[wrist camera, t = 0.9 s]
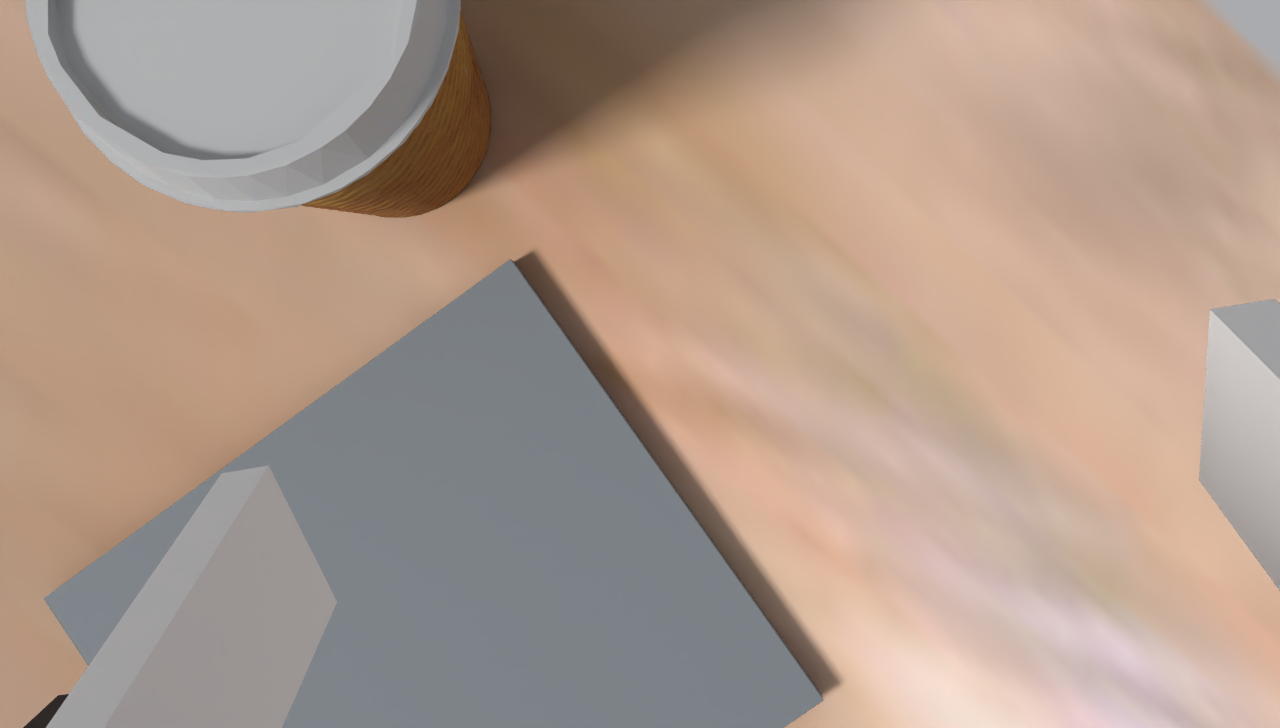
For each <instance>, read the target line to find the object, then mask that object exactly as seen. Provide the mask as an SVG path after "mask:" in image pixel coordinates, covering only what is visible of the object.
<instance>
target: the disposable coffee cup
mask: <svg viewBox="0 0 1280 728" xmlns="http://www.w3.org/2000/svg"><path fill="white" fill-rule="evenodd" d="M460 5H461V0H26V10H27V20H28V24H29V27H30V31H31V34H32V38H33V42H34V45H35V49H36V52H37V54H38V56H39V58H40V61H41V63H42V65H43V67H44V69H45V72H46V74H47V76H48V78H49V80H50V81H51V83H52V84H53V86H54V87H55V89H56V90H57V91H58V93H59V94H60V96H61V97H62V99H63V100H64V102H65V103H66V105H67V107H68V108H69V110H70V112H71V113H72V115H73V116H74V118H75V120H76V121H77V123H78V125H79V126H80V128H81V129H82V131H83V133H84V134H85V135H86V136H87V137H88V138H89V139H90V140H91V141H92V142H93V143H94V144H95V145H96V146H97V148H98V149H99V150H100V151H101V152H102V153H103V154H104V155H105V156H106V157H107V158H108V159H109V160H110V161H111V162H112V163H113V164H115V165H116V166H118V167H119V168H120V169H122V170H123V171H124V172H126V173H127V174H129V175H130V176H131V177H133V178H134V179H136V180H137V181H138V182H140V183H141V184H142V185H144V186H146V187H148V188H150V189H153V190H155V191H157V192H160V193H162V194H165V195H167V196H169V197H172V198H174V199H177V200H179V201H182V202H184V203H186V204H190V205H195V206H199V207H204V208H210V209H216V210H223V211H231V212H243V213H249V212H258V211H266V210H275V209H283V208H291V207H298V206H300V205H302V206H306V207H314V208H322V209H330V210H338V211H346V212H354V213H361V214H368V215H376V216H380V217H410V216H415V215H421V214H423V213H426V212H429V211H431V210H434V209H436V208H439V207H440V206H442V205H443V204H445V203H446V202H448V201H450V200H451V199H453V198H454V197H455V196H456V195H457V194H458V193H459V192H461V191H462V190H463V189H464V188H465V187H466V186H467V185H468V184H469V182H470V181H471V179H472V178H473V176H474V175H475V173H476V172H477V170H478V169H479V167H480V165H481V163H482V161H483V159H484V156H485V154H486V152H487V147H488V142H489V137H490V132H491V108H490V102H489V96H488V94H487V91H486V88H485V85H484V82H483V80H482V76H481V72H480V70H479V66H478V63H477V60H476V57H475V53H474V49H473V47H472V44H471V41H470V38H469V35H468V32H467V28H466V24H465V22H464V19H463V15H462V12H461V9H460Z"/></svg>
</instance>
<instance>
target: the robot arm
mask: <svg viewBox="0 0 1280 728" xmlns="http://www.w3.org/2000/svg"><path fill="white" fill-rule="evenodd" d="M1199 481H1200V482H1201V484H1202V485H1203V486H1204V488H1205V489H1206V491H1207V492H1208V493H1209V495H1210V496H1211V497H1212V499H1213V500H1214V501H1215V503H1216V504H1217V506H1218V507H1219V508H1220V510H1221V511H1222V512H1223V514H1224V515H1225V516H1226V518H1227V519H1228V521H1229V522H1230V523H1231V525H1232V526H1233V527H1234V529H1235V530H1236V532H1237V533H1238V534H1239V536H1240V537H1241V538H1242V540H1243V541H1244V542H1245V544H1246V545H1247V547H1248V548H1249V549H1250V551H1251V552H1252V553H1253V555H1254V556H1255V558H1256V559H1257V560H1258V562H1259V563H1260V564H1261V566H1262V567H1263V568H1264V570H1265V571H1266V573H1267V574H1268V575H1269V577H1270V578H1271V579H1272V581H1273V582H1274V584H1275V585H1276V586H1277V588H1278V589H1279V590H1280V303H1278V302H1277V301H1276V300H1275V299H1270V300H1264V301H1258V302H1252V303H1246V304H1240V305H1234V306H1228V307H1222V308H1216V309H1210V319H1209V334H1208V350H1207V365H1206V380H1205V395H1204V410H1203V425H1202V441H1201V456H1200V471H1199ZM336 604H337V600H336V598H335V596H334V594H333V593H332V591H331V589H330V587H329V585H328V583H327V581H326V579H325V577H324V575H323V573H322V571H321V569H320V567H319V565H318V563H317V561H316V559H315V557H314V555H313V553H312V551H311V549H310V547H309V545H308V543H307V541H306V539H305V537H304V535H303V533H302V531H301V529H300V527H299V525H298V523H297V521H296V519H295V517H294V515H293V513H292V511H291V509H290V507H289V505H288V503H287V501H286V499H285V497H284V495H283V493H282V491H281V489H280V487H279V485H278V483H277V481H276V479H275V477H274V475H273V473H272V471H271V469H270V467H269V466H263V467H257V468H251V469H245V470H239V471H233V472H227V473H221V475H220V476H219V478H218V479H217V481H216V482H215V484H214V485H213V486H212V488H211V489H210V491H209V492H208V494H207V495H206V497H205V498H204V499H203V501H202V502H201V504H200V505H199V507H198V508H197V510H196V511H195V512H194V514H193V515H192V517H191V518H190V520H189V521H188V523H187V524H186V525H185V527H184V528H183V530H182V531H181V533H180V534H179V536H178V537H177V538H176V540H175V541H174V543H173V544H172V546H171V547H170V549H169V550H168V552H167V553H166V554H165V556H164V557H163V559H162V560H161V562H160V563H159V565H158V566H157V567H156V569H155V570H154V572H153V573H152V575H151V576H150V578H149V579H148V580H147V582H146V583H145V585H144V586H143V588H142V589H141V591H140V592H139V593H138V595H137V596H136V598H135V599H134V601H133V602H132V604H131V605H130V607H129V608H128V609H127V611H126V612H125V614H124V615H123V617H122V618H121V620H120V621H119V622H118V624H117V625H116V627H115V628H114V630H113V631H112V633H111V634H110V635H109V637H108V638H107V640H106V641H105V643H104V644H103V646H102V647H101V648H100V650H99V651H98V653H97V654H96V656H95V657H94V659H93V660H92V662H91V663H90V664H89V666H88V667H87V669H86V670H85V672H84V673H83V675H82V676H81V677H80V679H79V680H78V682H77V683H76V685H75V686H74V688H73V689H72V690H71V692H70V693H69V694H66V695H58V696H57V697H56V698H55V699H54V700H53V701H52V702H51V703H50V704H48V705H47V706H46V707H45V708H44V709H43V710H42V711H41V712H40V713H39V714H38V715H37V716H35V717H34V718H33V719H32V720H31V721H30V722H29V723H28V724H27V725H26V726H25V727H24V728H282V727H283V724H284V722H285V720H286V718H287V715H288V713H289V711H290V708H291V706H292V704H293V702H294V699H295V697H296V695H297V692H298V690H299V688H300V686H301V683H302V681H303V679H304V677H305V674H306V672H307V670H308V667H309V665H310V663H311V661H312V658H313V656H314V654H315V651H316V649H317V647H318V645H319V642H320V640H321V638H322V636H323V633H324V631H325V629H326V626H327V624H328V622H329V620H330V617H331V615H332V613H333V610H334V608H335V606H336Z"/></svg>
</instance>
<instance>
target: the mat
mask: <svg viewBox="0 0 1280 728" xmlns="http://www.w3.org/2000/svg"><path fill="white" fill-rule="evenodd" d="M263 466H269V467H270V469H271V471H272V473H273V475H274V477H275V479H276V481H277V483H278V485H279V487H280V489H281V491H282V493H283V495H284V497H285V499H286V501H287V503H288V505H289V507H290V509H291V511H292V513H293V515H294V517H295V519H296V521H297V523H298V525H299V527H300V529H301V531H302V533H303V535H304V537H305V539H306V541H307V543H308V545H309V547H310V549H311V551H312V553H313V555H314V557H315V559H316V561H317V563H318V565H319V567H320V569H321V571H322V573H323V575H324V577H325V579H326V581H327V583H328V585H329V587H330V589H331V591H332V593H333V594H334V596H335V598H336V600H337V604H336V606H335V608H334V610H333V613H332V615H331V617H330V620H329V622H328V624H327V626H326V629H325V631H324V633H323V636H322V638H321V640H320V642H319V645H318V647H317V649H316V651H315V654H314V656H313V658H312V661H311V663H310V665H309V667H308V670H307V672H306V674H305V677H304V679H303V681H302V683H301V686H300V688H299V690H298V692H297V695H296V697H295V699H294V702H293V704H292V706H291V708H290V711H289V713H288V715H287V718H286V720H285V722H284V724H283V727H282V728H784V727H786V726H787V725H788V724H790V723H791V722H793V721H794V720H796V719H797V718H799V717H800V716H801V715H803V714H804V713H806V712H807V711H809V710H810V709H812V708H813V707H814V706H816V705H817V704H819V703H820V702H822V701H823V698H822V695H821V693H820V692H819V691H818V689H817V688H816V686H815V685H814V683H813V682H812V681H811V679H810V678H809V676H808V675H807V674H806V672H805V671H804V669H803V668H802V667H801V665H800V664H799V662H798V661H797V660H796V658H795V657H794V655H793V654H792V652H791V651H790V650H789V648H788V647H787V645H786V644H785V643H784V641H783V640H782V638H781V637H780V636H779V634H778V633H777V631H776V630H775V629H774V627H773V626H772V624H771V623H770V621H769V620H768V619H767V617H766V616H765V614H764V613H763V612H762V610H761V609H760V607H759V606H758V605H757V603H756V602H755V600H754V599H753V598H752V596H751V595H750V593H749V592H748V590H747V589H746V588H745V586H744V585H743V583H742V582H741V581H740V579H739V578H738V576H737V575H736V574H735V572H734V571H733V569H732V568H731V567H730V565H729V564H728V562H727V561H726V559H725V558H724V557H723V555H722V554H721V552H720V551H719V550H718V548H717V547H716V545H715V544H714V543H713V541H712V540H711V538H710V537H709V536H708V534H707V533H706V531H705V530H704V528H703V527H702V526H701V524H700V523H699V521H698V520H697V519H696V517H695V516H694V514H693V513H692V512H691V510H690V509H689V507H688V506H687V505H686V503H685V502H684V500H683V499H682V497H681V496H680V495H679V493H678V492H677V490H676V489H675V488H674V486H673V485H672V483H671V482H670V481H669V479H668V478H667V476H666V475H665V473H664V472H663V471H662V469H661V468H660V466H659V465H658V464H657V462H656V461H655V459H654V458H653V457H652V455H651V454H650V452H649V451H648V450H647V448H646V447H645V445H644V444H643V442H642V441H641V440H640V438H639V437H638V435H637V434H636V433H635V431H634V430H633V428H632V427H631V426H630V424H629V423H628V421H627V420H626V419H625V417H624V416H623V414H622V413H621V411H620V410H619V409H618V407H617V406H616V404H615V403H614V402H613V400H612V399H611V397H610V396H609V395H608V393H607V392H606V390H605V389H604V388H603V386H602V385H601V383H600V382H599V380H598V379H597V378H596V376H595V375H594V373H593V372H592V371H591V369H590V368H589V366H588V365H587V364H586V362H585V361H584V359H583V358H582V357H581V355H580V354H579V352H578V351H577V349H576V348H575V347H574V345H573V344H572V342H571V341H570V340H569V338H568V337H567V335H566V334H565V333H564V331H563V330H562V328H561V327H560V326H559V324H558V323H557V321H556V320H555V318H554V317H553V316H552V314H551V313H550V311H549V310H548V309H547V307H546V306H545V304H544V303H543V302H542V300H541V299H540V297H539V296H538V295H537V293H536V292H535V290H534V289H533V287H532V286H531V285H530V283H529V282H528V280H527V279H526V278H525V276H524V275H523V273H522V272H521V271H520V269H519V268H518V266H517V265H516V264H515V262H514V261H512V260H511V259H510V260H509V261H507V262H506V263H505V264H503V265H502V266H501V267H499V268H498V269H496V270H495V271H494V272H492V273H491V274H490V275H488V276H487V277H485V278H484V279H483V280H481V281H480V282H478V283H477V284H476V285H474V286H473V287H472V288H470V289H469V290H467V291H466V292H465V293H463V294H462V295H461V296H459V297H458V298H456V299H455V300H454V301H452V302H451V303H450V304H448V305H447V306H445V307H444V308H443V309H441V310H440V311H439V312H437V313H436V314H434V315H433V316H432V317H430V318H429V319H428V320H426V321H425V322H423V323H422V324H421V325H419V326H418V327H417V328H415V329H414V330H412V331H411V332H410V333H408V334H407V335H406V336H404V337H403V338H401V339H400V340H399V341H397V342H396V343H395V344H393V345H392V346H390V347H389V348H388V349H386V350H385V351H384V352H382V353H381V354H379V355H378V356H377V357H375V358H374V359H373V360H371V361H370V362H368V363H367V364H366V365H364V366H363V367H362V368H360V369H359V370H357V371H356V372H355V373H353V374H352V375H351V376H349V377H348V378H346V379H345V380H344V381H342V382H341V383H340V384H338V385H337V386H335V387H334V388H333V389H331V390H330V391H329V392H327V393H326V394H324V395H323V396H322V397H320V398H319V399H317V400H316V401H315V402H313V403H312V404H311V405H309V406H308V407H306V408H305V409H304V410H302V411H301V412H300V413H298V414H297V415H295V416H294V417H293V418H291V419H290V420H289V421H287V422H286V423H284V424H283V425H282V426H280V427H279V428H278V429H276V430H275V431H273V432H272V433H271V434H269V435H268V436H267V437H265V438H264V439H262V440H261V441H260V442H258V443H257V444H256V445H254V446H253V447H251V448H250V449H249V450H247V451H246V452H245V453H243V454H242V455H240V456H239V457H238V458H236V459H235V460H234V461H232V462H231V463H229V464H228V465H227V466H225V467H224V468H223V469H221V470H220V471H218V472H217V473H216V474H214V475H213V476H212V477H210V478H209V479H207V480H206V481H205V482H203V483H202V484H201V485H199V486H198V487H196V488H195V489H194V490H192V491H191V492H190V493H188V494H187V495H185V496H184V497H183V498H181V499H180V500H179V501H177V502H176V503H174V504H173V505H172V506H170V507H169V508H168V509H166V510H165V511H163V512H162V513H161V514H159V515H158V516H157V517H155V518H154V519H152V520H151V521H150V522H148V523H147V524H145V525H144V526H143V527H141V528H140V529H139V530H137V531H136V532H134V533H133V534H132V535H130V536H129V537H128V538H126V539H125V540H123V541H122V542H121V543H119V544H118V545H117V546H115V547H114V548H112V549H111V550H110V551H108V552H107V553H106V554H104V555H103V556H101V557H100V558H99V559H97V560H96V561H95V562H93V563H92V564H90V565H89V566H88V567H86V568H85V569H84V570H82V571H81V572H79V573H78V574H77V575H75V576H74V577H73V578H71V579H70V580H68V581H67V582H66V583H64V584H63V585H62V586H60V587H59V588H57V589H56V590H55V591H53V592H52V593H51V594H49V595H48V596H46V597H45V598H44V600H45V602H46V603H47V605H48V606H49V608H50V609H51V611H52V612H53V614H54V615H55V617H56V618H57V620H58V621H59V623H60V624H61V626H62V627H63V629H64V630H65V632H66V633H67V635H68V636H69V638H70V639H71V641H72V642H73V644H74V645H75V647H76V648H77V650H78V651H79V653H80V654H81V656H82V657H83V659H84V660H85V662H86V663H87V665H88V666H89V664H90V663H91V662H92V660H93V659H94V657H95V656H96V654H97V653H98V651H99V650H100V648H101V647H102V646H103V644H104V643H105V641H106V640H107V638H108V637H109V635H110V634H111V633H112V631H113V630H114V628H115V627H116V625H117V624H118V622H119V621H120V620H121V618H122V617H123V615H124V614H125V612H126V611H127V609H128V608H129V607H130V605H131V604H132V602H133V601H134V599H135V598H136V596H137V595H138V593H139V592H140V591H141V589H142V588H143V586H144V585H145V583H146V582H147V580H148V579H149V578H150V576H151V575H152V573H153V572H154V570H155V569H156V567H157V566H158V565H159V563H160V562H161V560H162V559H163V557H164V556H165V554H166V553H167V552H168V550H169V549H170V547H171V546H172V544H173V543H174V541H175V540H176V538H177V537H178V536H179V534H180V533H181V531H182V530H183V528H184V527H185V525H186V524H187V523H188V521H189V520H190V518H191V517H192V515H193V514H194V512H195V511H196V510H197V508H198V507H199V505H200V504H201V502H202V501H203V499H204V498H205V497H206V495H207V494H208V492H209V491H210V489H211V488H212V486H213V485H214V484H215V482H216V481H217V479H218V478H219V476H220V475H221V473H227V472H233V471H239V470H245V469H251V468H257V467H263Z"/></svg>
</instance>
